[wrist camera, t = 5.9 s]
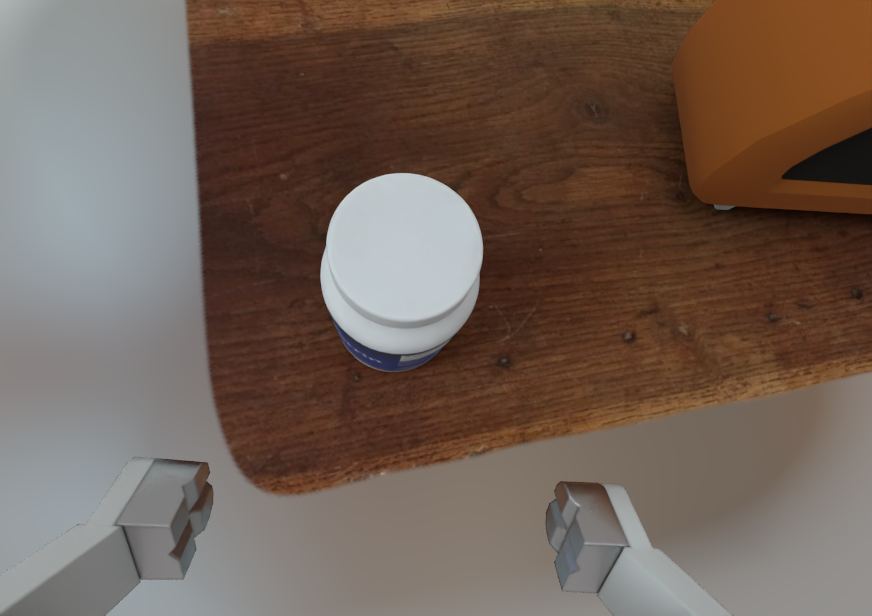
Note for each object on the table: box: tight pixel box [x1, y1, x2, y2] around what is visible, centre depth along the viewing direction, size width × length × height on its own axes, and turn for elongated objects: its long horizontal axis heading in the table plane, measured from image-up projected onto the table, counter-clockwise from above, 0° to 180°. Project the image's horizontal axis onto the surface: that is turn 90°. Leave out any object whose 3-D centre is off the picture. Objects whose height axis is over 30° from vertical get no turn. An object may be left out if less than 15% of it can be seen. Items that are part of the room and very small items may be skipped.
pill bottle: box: [320, 173, 483, 372], centre depth 18 cm, size 6×6×10 cm
